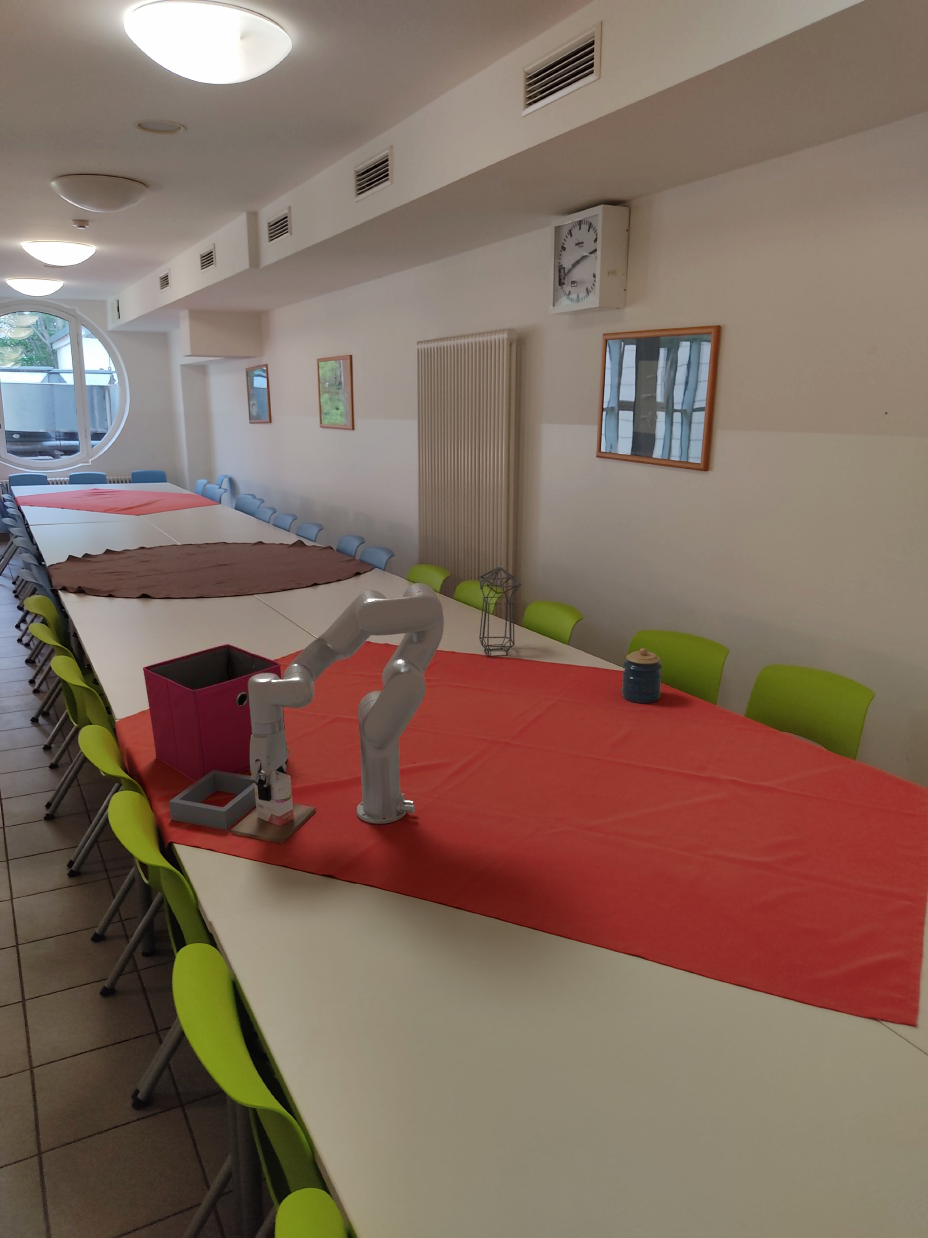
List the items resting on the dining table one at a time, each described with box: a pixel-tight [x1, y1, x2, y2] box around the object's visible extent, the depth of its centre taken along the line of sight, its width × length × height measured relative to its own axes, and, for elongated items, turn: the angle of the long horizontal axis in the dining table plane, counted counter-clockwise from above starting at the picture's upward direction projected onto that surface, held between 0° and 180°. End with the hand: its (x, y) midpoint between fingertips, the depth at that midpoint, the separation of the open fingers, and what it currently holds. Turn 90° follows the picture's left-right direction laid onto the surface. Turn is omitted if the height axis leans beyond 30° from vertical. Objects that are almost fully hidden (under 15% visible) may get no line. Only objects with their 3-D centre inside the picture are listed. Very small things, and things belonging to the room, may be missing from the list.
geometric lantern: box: [476, 566, 522, 657], centre depth 323 cm, size 16×16×35 cm
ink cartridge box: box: [254, 770, 294, 827], centre depth 199 cm, size 9×5×15 cm, turn 54°
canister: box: [621, 647, 663, 704], centre depth 279 cm, size 13×13×18 cm
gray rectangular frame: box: [168, 770, 256, 831], centre depth 208 cm, size 16×18×5 cm
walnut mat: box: [230, 803, 316, 845], centre depth 202 cm, size 14×16×1 cm
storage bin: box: [142, 643, 286, 784], centre depth 233 cm, size 28×29×28 cm
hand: (272, 792), depth 199 cm, fingers open, 6 cm apart
